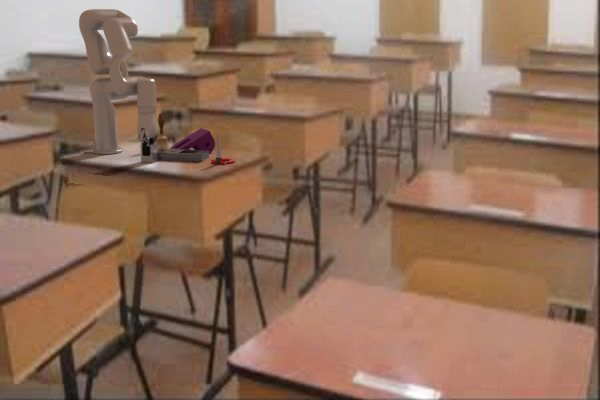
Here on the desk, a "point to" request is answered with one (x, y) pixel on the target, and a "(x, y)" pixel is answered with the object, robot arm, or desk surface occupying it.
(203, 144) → the mounting bracket
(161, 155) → the grey tray
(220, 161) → the red scissors
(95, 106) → the robot arm
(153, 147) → the white cylinder
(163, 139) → the hand bell
